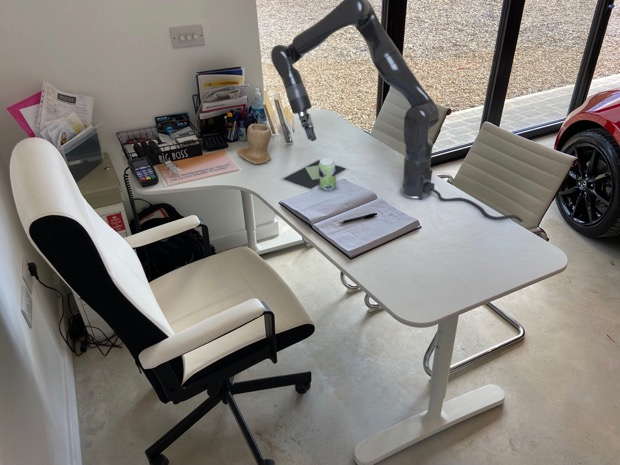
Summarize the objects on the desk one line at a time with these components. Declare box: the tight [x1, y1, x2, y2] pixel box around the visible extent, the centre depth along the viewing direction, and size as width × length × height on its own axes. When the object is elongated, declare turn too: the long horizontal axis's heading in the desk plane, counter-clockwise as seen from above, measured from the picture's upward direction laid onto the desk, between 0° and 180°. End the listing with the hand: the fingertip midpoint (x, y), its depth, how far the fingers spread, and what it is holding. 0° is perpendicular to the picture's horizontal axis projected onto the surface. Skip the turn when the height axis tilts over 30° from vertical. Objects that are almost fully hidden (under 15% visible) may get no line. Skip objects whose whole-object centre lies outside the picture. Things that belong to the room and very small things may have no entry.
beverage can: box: [319, 157, 337, 191], centre depth 183 cm, size 6×7×12 cm
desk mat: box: [283, 159, 346, 190], centre depth 198 cm, size 14×22×1 cm, turn 140°
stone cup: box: [236, 123, 272, 165], centre depth 209 cm, size 15×12×15 cm
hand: (312, 139), depth 185 cm, fingers open, 8 cm apart
